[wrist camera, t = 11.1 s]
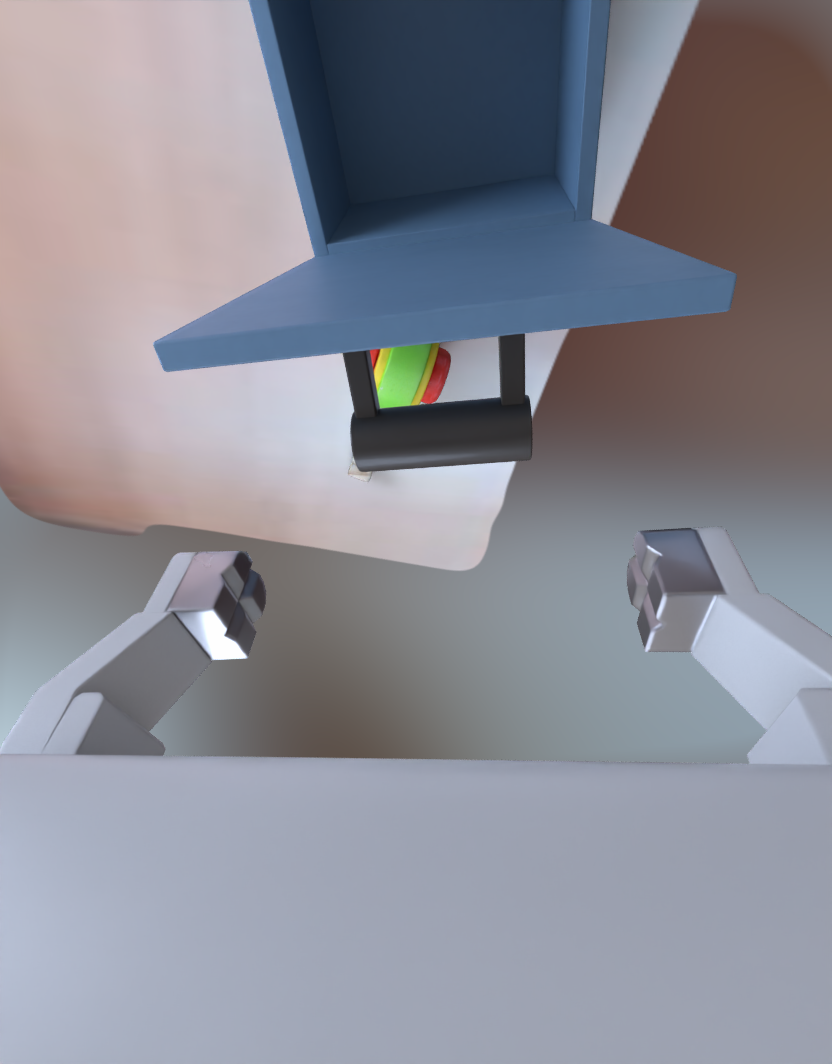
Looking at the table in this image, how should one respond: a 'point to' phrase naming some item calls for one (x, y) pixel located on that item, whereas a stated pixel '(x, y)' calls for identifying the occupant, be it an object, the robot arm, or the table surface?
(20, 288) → the table surface
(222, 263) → the table surface
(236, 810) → the robot arm
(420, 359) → the toy measuring tape
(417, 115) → the toy chest
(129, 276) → the table surface
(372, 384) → the chest lid
